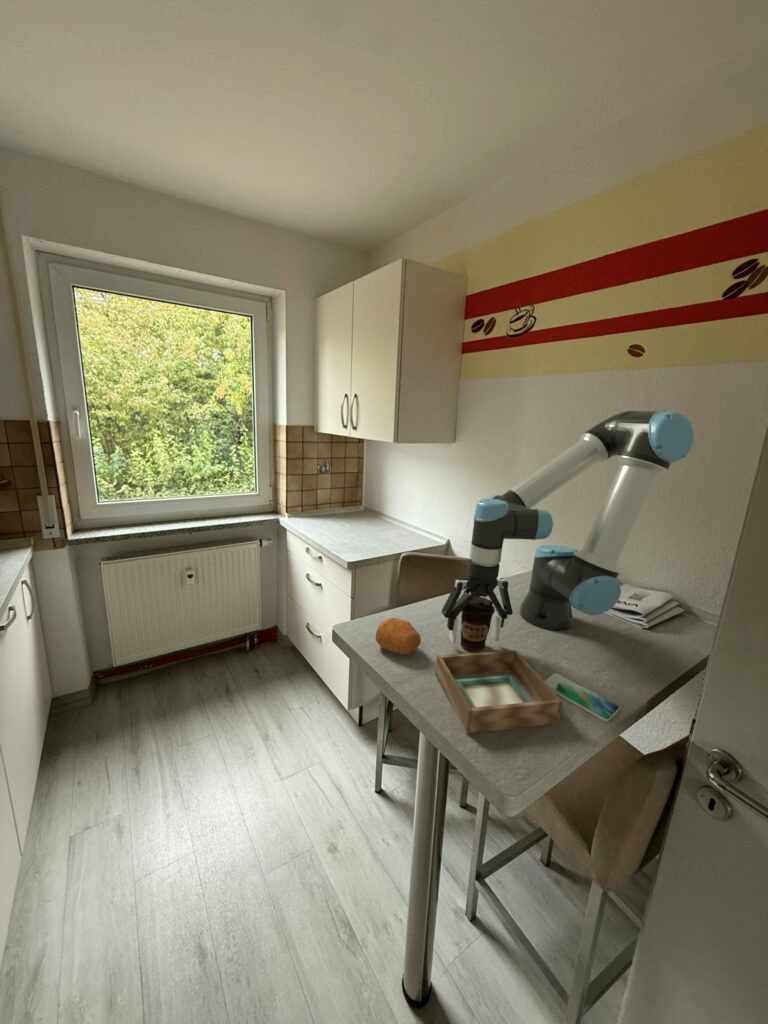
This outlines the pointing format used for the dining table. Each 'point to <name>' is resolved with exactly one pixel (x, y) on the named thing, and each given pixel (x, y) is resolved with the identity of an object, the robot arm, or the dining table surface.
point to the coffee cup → (476, 624)
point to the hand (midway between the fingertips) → (473, 639)
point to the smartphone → (581, 697)
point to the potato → (397, 636)
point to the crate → (496, 692)
